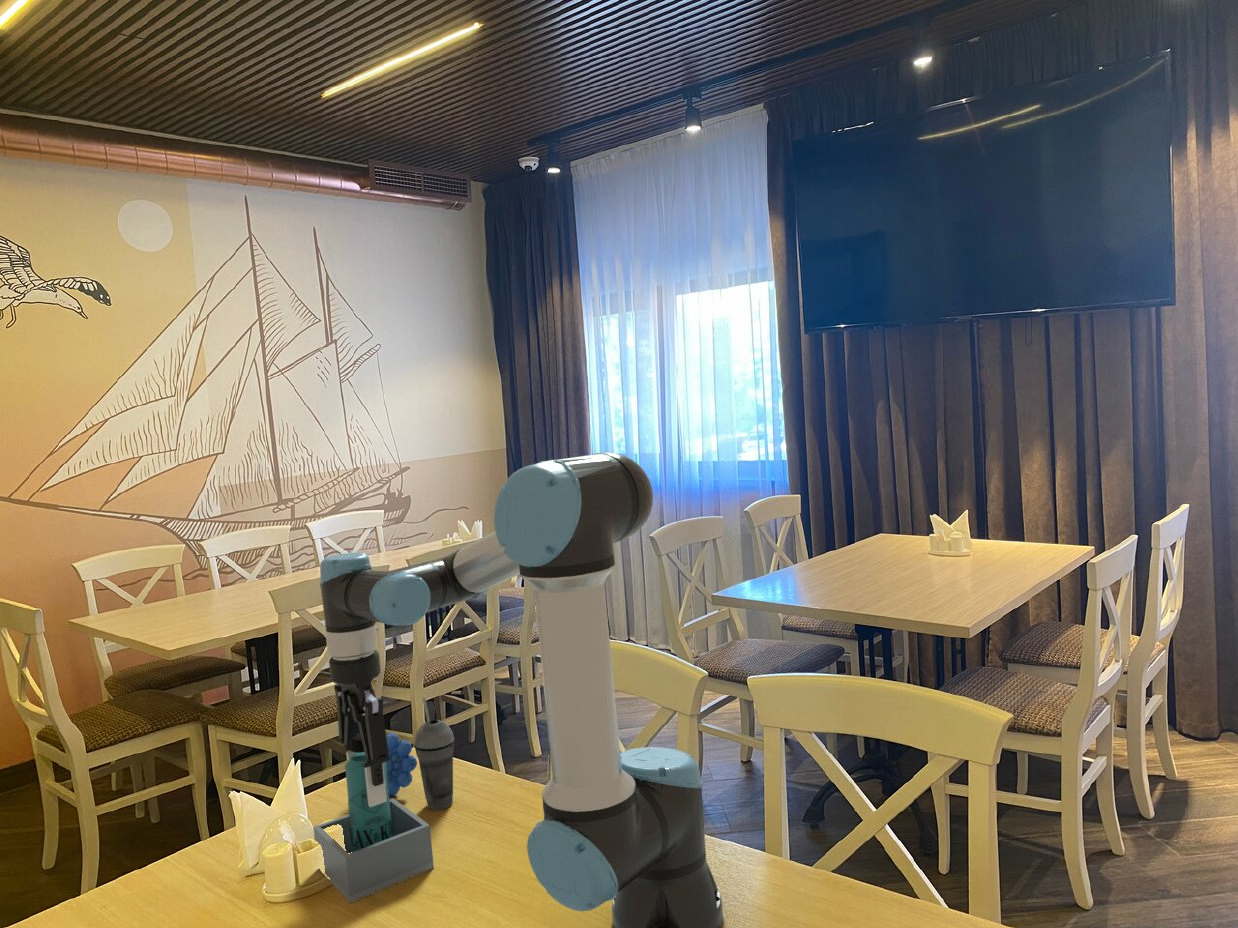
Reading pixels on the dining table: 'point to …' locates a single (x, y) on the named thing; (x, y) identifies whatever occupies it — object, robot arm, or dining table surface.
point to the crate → (377, 855)
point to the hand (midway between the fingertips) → (368, 796)
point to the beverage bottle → (365, 802)
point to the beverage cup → (436, 761)
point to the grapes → (399, 764)
